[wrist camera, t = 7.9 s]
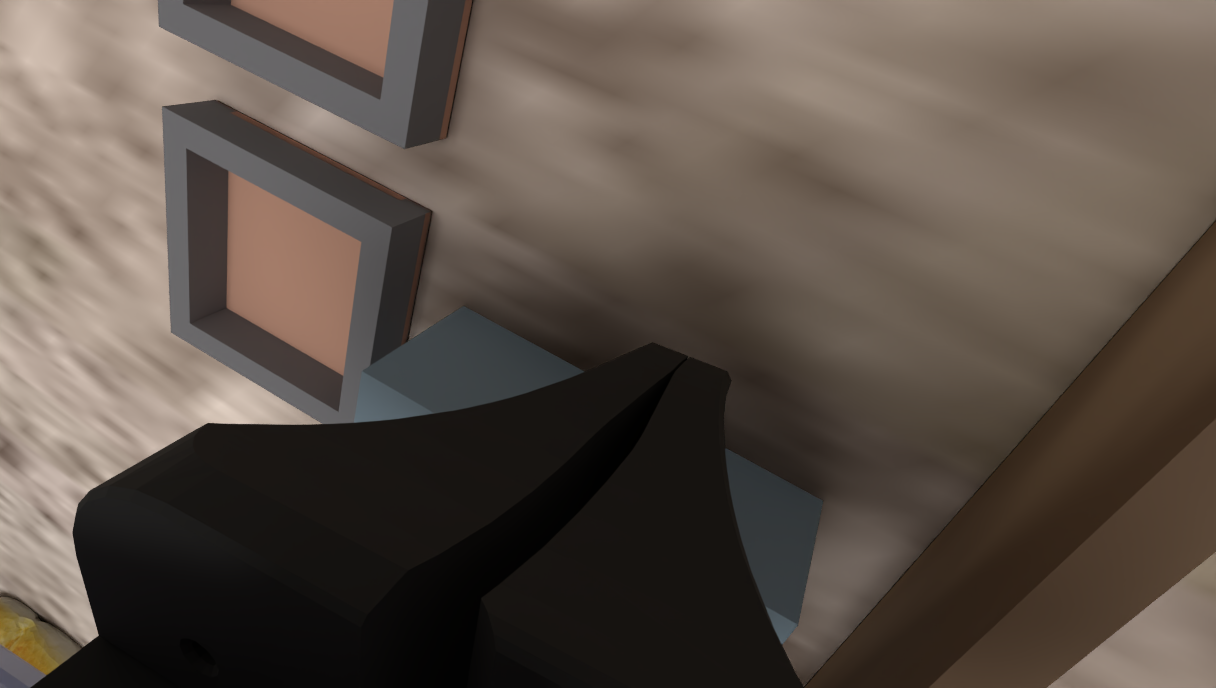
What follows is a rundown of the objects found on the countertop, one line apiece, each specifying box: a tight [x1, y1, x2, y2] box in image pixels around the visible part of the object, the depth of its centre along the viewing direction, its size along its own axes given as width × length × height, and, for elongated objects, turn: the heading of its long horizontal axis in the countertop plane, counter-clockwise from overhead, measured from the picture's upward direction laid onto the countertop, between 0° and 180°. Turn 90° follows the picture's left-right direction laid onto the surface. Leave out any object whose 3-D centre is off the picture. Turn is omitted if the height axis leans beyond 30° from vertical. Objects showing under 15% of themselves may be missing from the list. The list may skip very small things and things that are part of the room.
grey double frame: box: [158, 0, 472, 424], centre depth 13 cm, size 6×12×1 cm, turn 160°
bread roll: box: [0, 597, 82, 675], centre depth 31 cm, size 8×9×4 cm
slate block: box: [354, 306, 823, 644], centre depth 14 cm, size 8×8×4 cm
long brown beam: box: [804, 222, 1216, 688], centre depth 12 cm, size 12×22×3 cm, turn 160°
